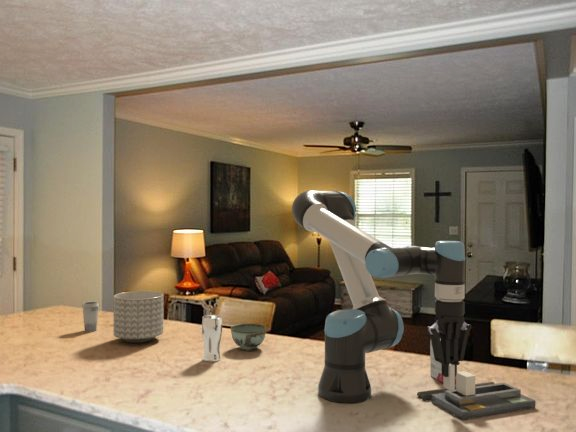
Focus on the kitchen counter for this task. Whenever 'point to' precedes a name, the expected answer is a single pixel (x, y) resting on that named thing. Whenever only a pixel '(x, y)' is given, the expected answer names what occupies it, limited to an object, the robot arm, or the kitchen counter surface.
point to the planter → (138, 315)
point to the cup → (90, 315)
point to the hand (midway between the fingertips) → (448, 388)
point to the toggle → (465, 384)
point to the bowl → (248, 335)
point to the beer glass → (211, 337)
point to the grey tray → (483, 401)
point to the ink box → (435, 366)
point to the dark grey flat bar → (442, 391)
